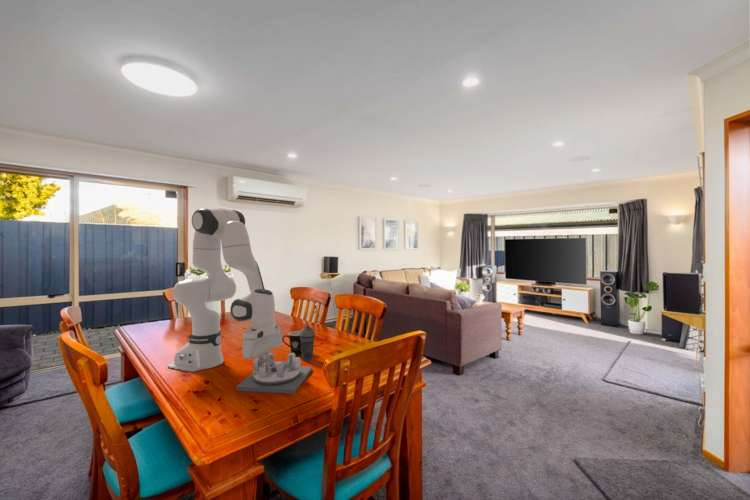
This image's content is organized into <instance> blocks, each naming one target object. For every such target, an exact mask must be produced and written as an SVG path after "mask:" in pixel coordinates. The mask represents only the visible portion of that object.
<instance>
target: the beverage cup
mask: <svg viewBox="0 0 750 500" xmlns="http://www.w3.org/2000/svg"><path fill="white" fill-rule="evenodd" d="M303 318H304V326H305V327H303V328H301V329H300V331H301V332H300V341H301V350H302V355H301V357H302V359H301V361H302V362H311V361H312V360H313V356H314V344H315V337H316V333H315V329H313V328H312V327H310V326H307V319H306V317H303Z"/></svg>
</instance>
